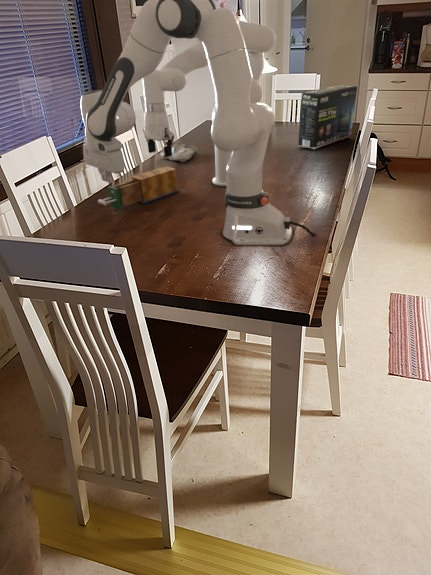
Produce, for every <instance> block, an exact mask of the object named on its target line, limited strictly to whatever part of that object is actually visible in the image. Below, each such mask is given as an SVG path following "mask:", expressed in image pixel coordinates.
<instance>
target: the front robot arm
mask: <svg viewBox="0 0 431 575" xmlns="http://www.w3.org/2000/svg"><path fill="white" fill-rule="evenodd" d="M237 20H238V19H237V17H236V15H235V13H234V12H233V11H232V10H231V9H230V8H229V9H228V8H224V7H219V8H218V7H217V5H216V4H215V2H214V1H213V0H147V1H146V2H144V4H143V5H142V7H141V8H140V10H139V11H138V14H137V15H136V18H135V20H134V22H133V23H132V26H131V29H130V31H129V34H128V37H127V38H126V39H127V40H126V42H125V44H124V47H123V49H122V51H121V53H120V55H119V57H118V59H117V61H116V62H115V64H114V66H113V68H112V70H111V71H110V73H109V76H108V77H107V80H106V82H105V85H104V86H103V88H102V89H96V90H92V91H91V90H90V91H88V92H84V93H82V95H81V96H80V111H81V119H82V122H83V124H84V127H85V128H84V135H85V138H84V140H83V145H82V153H83V161H84V163H85V164H86V165H88V166H91V167H92V168H93V167H94V168H96V169H98V170H97V171H98V173H99V175H100V177H101V181H103V182H105V183H109V182H110V181H111V174H115V175H116V174H120V173H121V174H122V173H123V172H124V171H125V160H124V154H123V152H122V150H121V149H122V148H123V144H122V142H121V140H119V139H118V138H116V137H117V136H119V135H121V134H124V133H126V132H128V131H130V130H131V129H133V127H134V126H135V125H136V119H137V118H136V113H135V110H134V108H133V106H132V105H131V104H130V103H128V102H127V101H124V99H125V97H126V95H127V93H128V91H129V90H130V89H131V88H132V87H133V86H134V85H135V84H136V83H138V82H139V81H141V80H142V78H144V77H145V76H147V75H149V74H151V73H152V72H154V71H155V70H157V68H158V66H159V65H160V64H161V62H162V60H163V58H164V57H165V54H166V51H167V48H168V47H169V43H170V42H171V40H172V38H174V39H186V40H193V39H197V40H198V41H199V40H200V41H201V43H202V44H203V47H204V50H205V54H206V58H207V62H208V69H209V74H210V77H211V82H212V86H213V91H214V107H215V118H214V122H213V124H211V128H210V137H211V140H212V142H213V145H214V146H215V145H216V147H217V148H219V149H220V150H222V151H225V152H232V153H231V157H230V159H229V161H228V163H227V167H226V184H227V186H226V190H225V194H224V205H225V209H226V210H225V218H224V219H225V220H224V226H223V229H222V235H223V237H225V239H228V240H230V241H232V243H233V244H234V245H236V246H283V245H286V244H288V243H289V242H290V240H291V239H292V237H293V228H292V227H291V225H292V226H297V227H299V228H301V229H303V230H305V231H306V233H308V234H309V235H311V236H316V235H315V232H312V231H311V230H310V229H309V227H306V226H305V225H303V224H301V223H298V222H295V221H291V216H285V215H284V213H283V212H282V211H280V210H279V209H278V208H277V207H276V206H275V205H272V204H271V203H270V202H269V194H270V192H269V191H267V192H266V191H265V190H263V175H264V174H263V169H264V164H265V163H264V162H265V158H266V153H267V148H268V144H269V139H270V135H271V133H272V131H273V129H274V127H275V122H276V121H275V120H276V118H275V114H274V112H273V110H272V108H271V107H270V106H269V105H268V104H265V103H261V102H260V103H250V86H251V83H252V73H251V68H250V64H249V59H248V55H247V51H246V49H245V48H246V46H245V42H244V39H243V36H242V33H241V30H240V27H239V24H238V22H237Z"/></svg>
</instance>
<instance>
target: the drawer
mask: <svg viewBox="0 0 431 575" xmlns="http://www.w3.org/2000/svg"><path fill="white" fill-rule="evenodd" d="M107 188H108V194H109V195H108V196H109V197H106V198H103V199H100V198H99V199H98V200H97V203H98V204H100V205H103V206H107V205H109V204H110V207H111V208H113V209H116V210H122V207H123V208H124V207H127V206H131V205H133V204H136V203H140V202H139V201H142V200H143V196H142V188H141V181H139V180H136V179H135V180H132V179H131V180H128V181H125V182H122V183H118V184H115V185H114V186H112V185H109V186H108V187H107Z"/></svg>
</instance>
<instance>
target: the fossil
mask: <svg viewBox="0 0 431 575" xmlns="http://www.w3.org/2000/svg"><path fill="white" fill-rule="evenodd" d="M171 148H172V156H169V157H165V154H164V150H162V151H161V152H160V156H161V158H162V159H163V160H169V161H174V162H177V161H179V162H180V163H185V162H187V161H188V160H190V159H191V158H192V157H193V156H194V155H197V154H198V153H199V150H198V148H197V146H195V145H188V146H187V145H186V143H184V142H183V143H181V142H176V143H175V145H174V146H173V147H171Z"/></svg>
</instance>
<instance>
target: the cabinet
mask: <svg viewBox="0 0 431 575" xmlns="http://www.w3.org/2000/svg"><path fill="white" fill-rule="evenodd" d="M135 179H136V180H139V181H141V188H142V196H143V200H142V201H139V202H138V203H142V204H145V205H146V204H148V203H151V202H154V201H157V200H159V199H162V198H165V197H168V196H171V195H173V194H176V193H179V191H178V183H177V182H178V181H177V169H176V168H175V167H170V166H167V165H165V166H161V167H158V168H155V169H152V170H148V171H145V172H142V173H138V174H135V175H132V176H131V180H135Z"/></svg>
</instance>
